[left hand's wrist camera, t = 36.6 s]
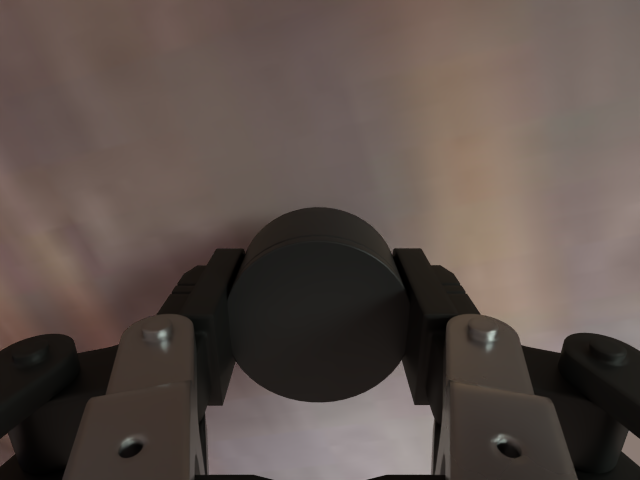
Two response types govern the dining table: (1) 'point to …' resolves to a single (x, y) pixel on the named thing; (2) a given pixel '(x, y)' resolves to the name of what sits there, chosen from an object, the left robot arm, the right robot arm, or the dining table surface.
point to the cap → (318, 307)
